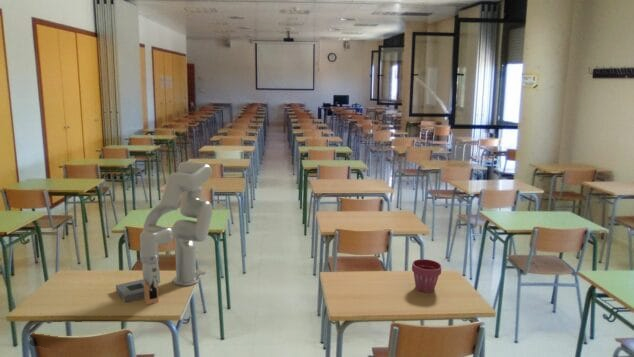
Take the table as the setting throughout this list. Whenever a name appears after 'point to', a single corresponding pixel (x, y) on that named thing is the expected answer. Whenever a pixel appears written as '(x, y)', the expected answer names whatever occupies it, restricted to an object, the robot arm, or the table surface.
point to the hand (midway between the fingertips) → (151, 296)
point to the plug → (147, 295)
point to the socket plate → (131, 290)
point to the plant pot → (426, 274)
